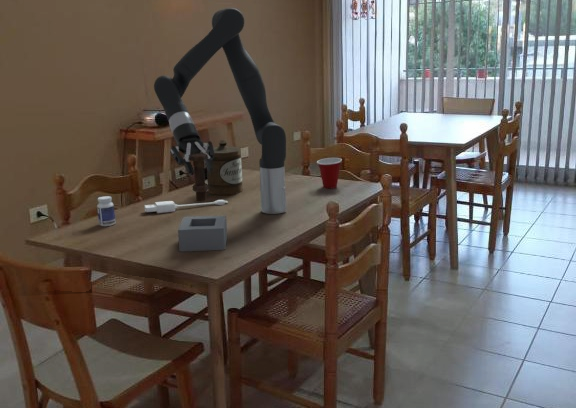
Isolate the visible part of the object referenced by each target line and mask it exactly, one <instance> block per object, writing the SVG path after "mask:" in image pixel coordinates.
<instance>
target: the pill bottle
mask: <svg viewBox="0 0 576 408" xmlns="http://www.w3.org/2000/svg"><path fill="white" fill-rule="evenodd" d="M112 200H113V199H112V196H108V195H107V196H99V197H98V198H97V202H98V203H97V205H96V207H97V208H96V209H97V216H98V217H97V218H98V224H99V226H101V227H110V226H113V225H115V224H116V223H117V221H116V212H115V205H114V203H113V201H112Z"/></svg>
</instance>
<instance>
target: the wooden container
mask: <svg viewBox="0 0 576 408" xmlns="http://www.w3.org/2000/svg"><path fill="white" fill-rule="evenodd" d="M227 144H228V142H227V140H224V139H221V140H219V142H218V145H219V146H215V147H213V150H214V154H215V156H214V158H213V160H212V161H211V162H212V165H213V169H212V172H208V170H207V169H206V176H207V184H208V190H207V192H208V193H209V194H212V195H216V196H217V195H218V196H228V195H234V194H238V193H241V192H242V191H243V170H242V169H243V168H242V150H241V148H240V147H237V146H228V145H227ZM205 151H206V153H207V154H208V152H207V150H206V149H205Z"/></svg>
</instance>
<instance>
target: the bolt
mask: <svg viewBox="0 0 576 408" xmlns="http://www.w3.org/2000/svg"><path fill="white" fill-rule="evenodd" d="M206 159H208V155H207V154H205V153H195V154H191V155H190V156H189V161H190V162H191V161H192V164H193V165H192V166H193V169H194V174H193V175H194V184H193V185H192V191H193V192H194V193H195V199H196V200H195V201H196V202H197V203H206V201H207V192H208V183H206V175H205V174H206V173H205V172H206V171H205V162H204V161H205V160H206Z"/></svg>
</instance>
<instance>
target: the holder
mask: <svg viewBox="0 0 576 408" xmlns="http://www.w3.org/2000/svg"><path fill="white" fill-rule="evenodd" d="M227 226H228V225H227V215H226V214H224V215H222V214H221V215H202V216H201V215H198V216H197V215H196V216H183V217H182V220H181V222H180V224H179V226H178V229H177V233H178V234H177V235H178V249H179V252H197V251H198V252H200V251H201V252H202V251H203V252H204V251H223V250H226V245H227V239H228V227H227Z"/></svg>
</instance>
